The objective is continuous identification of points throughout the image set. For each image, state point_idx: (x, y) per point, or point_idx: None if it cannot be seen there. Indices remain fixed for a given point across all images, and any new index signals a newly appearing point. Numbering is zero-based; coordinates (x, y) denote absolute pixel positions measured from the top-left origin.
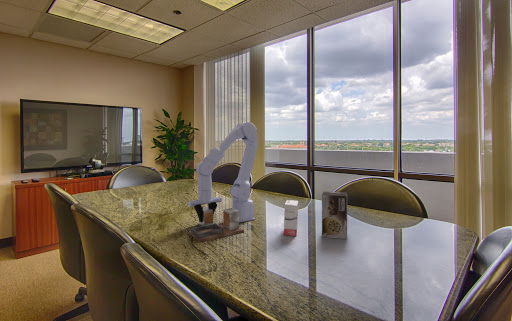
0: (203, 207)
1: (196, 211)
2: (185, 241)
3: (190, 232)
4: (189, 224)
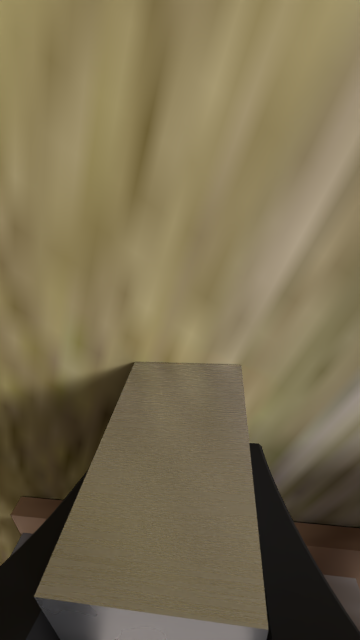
0: (155, 623)
1: (13, 572)
2: (3, 555)
3: (21, 534)
4: (34, 325)
